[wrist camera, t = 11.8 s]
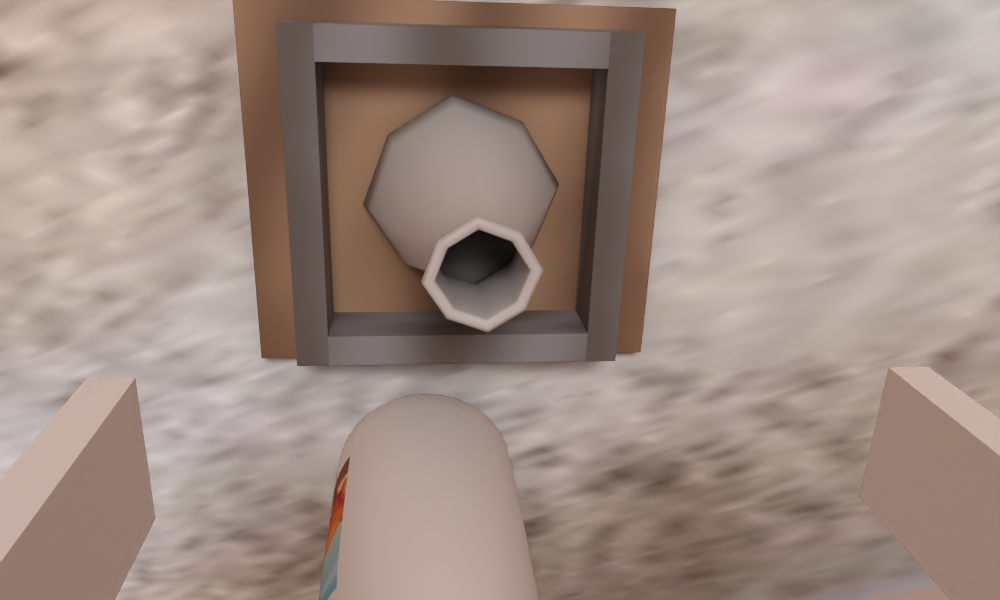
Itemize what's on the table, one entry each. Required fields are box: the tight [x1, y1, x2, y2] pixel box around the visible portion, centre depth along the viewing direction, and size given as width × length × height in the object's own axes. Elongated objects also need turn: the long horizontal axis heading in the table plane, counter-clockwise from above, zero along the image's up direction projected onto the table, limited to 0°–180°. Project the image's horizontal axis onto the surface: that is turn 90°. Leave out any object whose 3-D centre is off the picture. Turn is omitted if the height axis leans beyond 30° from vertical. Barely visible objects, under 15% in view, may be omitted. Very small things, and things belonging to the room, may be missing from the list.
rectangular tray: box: [233, 0, 676, 366], centre depth 31 cm, size 16×14×4 cm
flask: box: [363, 94, 559, 332], centre depth 27 cm, size 7×7×10 cm
